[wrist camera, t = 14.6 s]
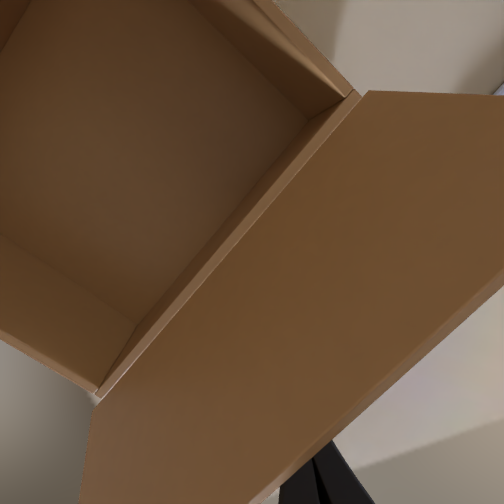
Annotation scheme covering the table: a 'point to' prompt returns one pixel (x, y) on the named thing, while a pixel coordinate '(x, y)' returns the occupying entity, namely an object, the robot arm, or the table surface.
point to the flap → (313, 307)
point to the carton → (141, 161)
